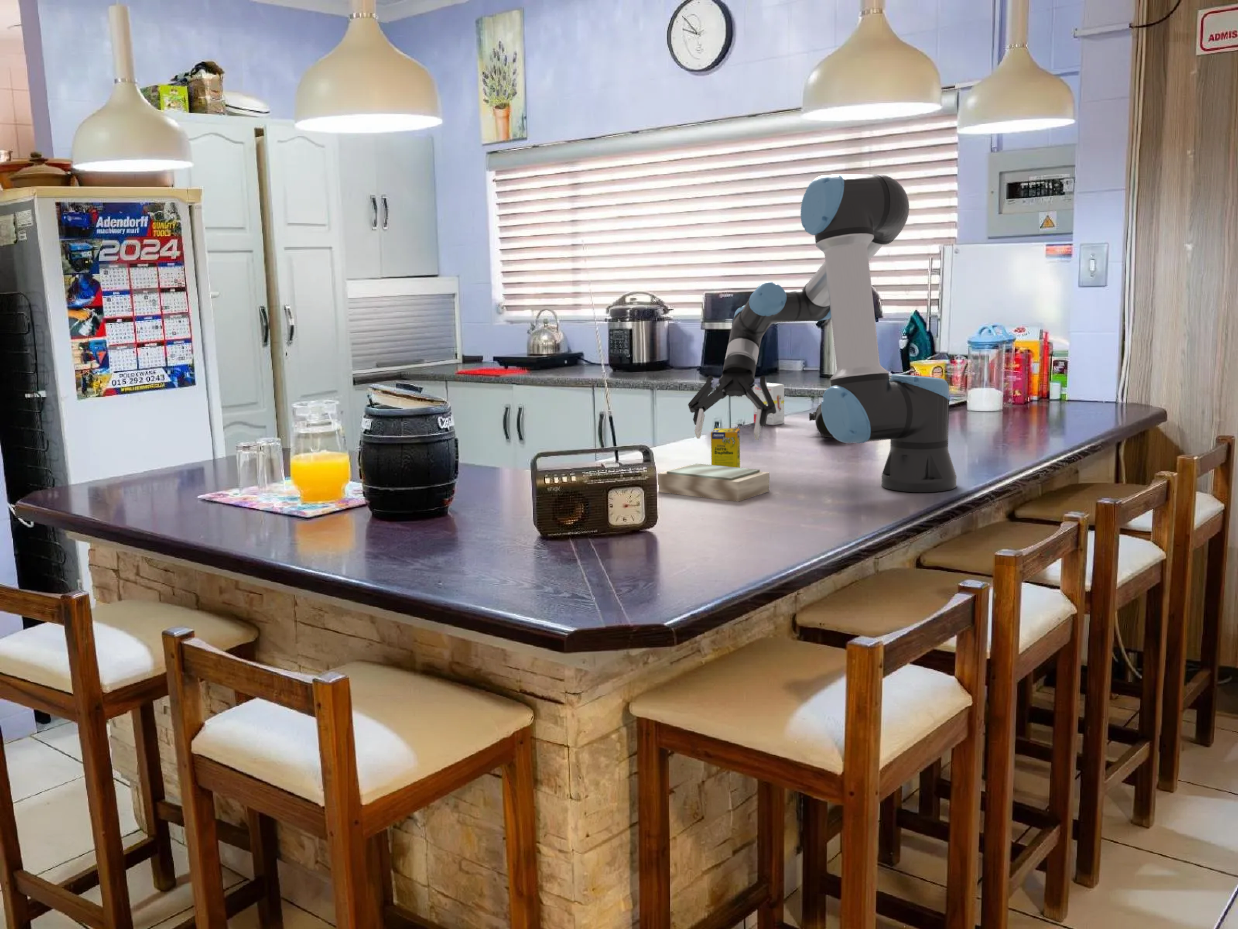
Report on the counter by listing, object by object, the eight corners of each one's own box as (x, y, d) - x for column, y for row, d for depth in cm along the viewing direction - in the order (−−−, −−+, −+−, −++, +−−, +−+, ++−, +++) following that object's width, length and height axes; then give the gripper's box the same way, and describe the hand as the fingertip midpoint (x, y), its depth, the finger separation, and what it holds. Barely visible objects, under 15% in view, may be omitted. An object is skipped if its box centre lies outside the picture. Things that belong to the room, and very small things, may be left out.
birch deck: (769, 491, 233) (769, 470, 232) (738, 501, 224) (737, 479, 223) (690, 482, 245) (690, 462, 245) (658, 491, 236) (657, 471, 235)
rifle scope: (845, 428, 320) (845, 393, 318) (851, 441, 294) (851, 404, 293) (808, 428, 321) (808, 393, 320) (810, 442, 296) (810, 404, 294)
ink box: (752, 423, 336) (752, 383, 334) (764, 421, 339) (763, 382, 337) (773, 425, 330) (773, 385, 328) (785, 423, 333) (784, 384, 331)
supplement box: (738, 481, 245) (737, 431, 244) (711, 480, 247) (710, 431, 245) (740, 476, 251) (740, 427, 249) (714, 476, 252) (713, 428, 251)
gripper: (795, 372, 262) (783, 446, 250) (692, 372, 270) (676, 444, 259) (791, 352, 256) (779, 426, 245) (686, 352, 264) (669, 424, 253)
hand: (726, 435), depth 252 cm, fingers open, 13 cm apart
